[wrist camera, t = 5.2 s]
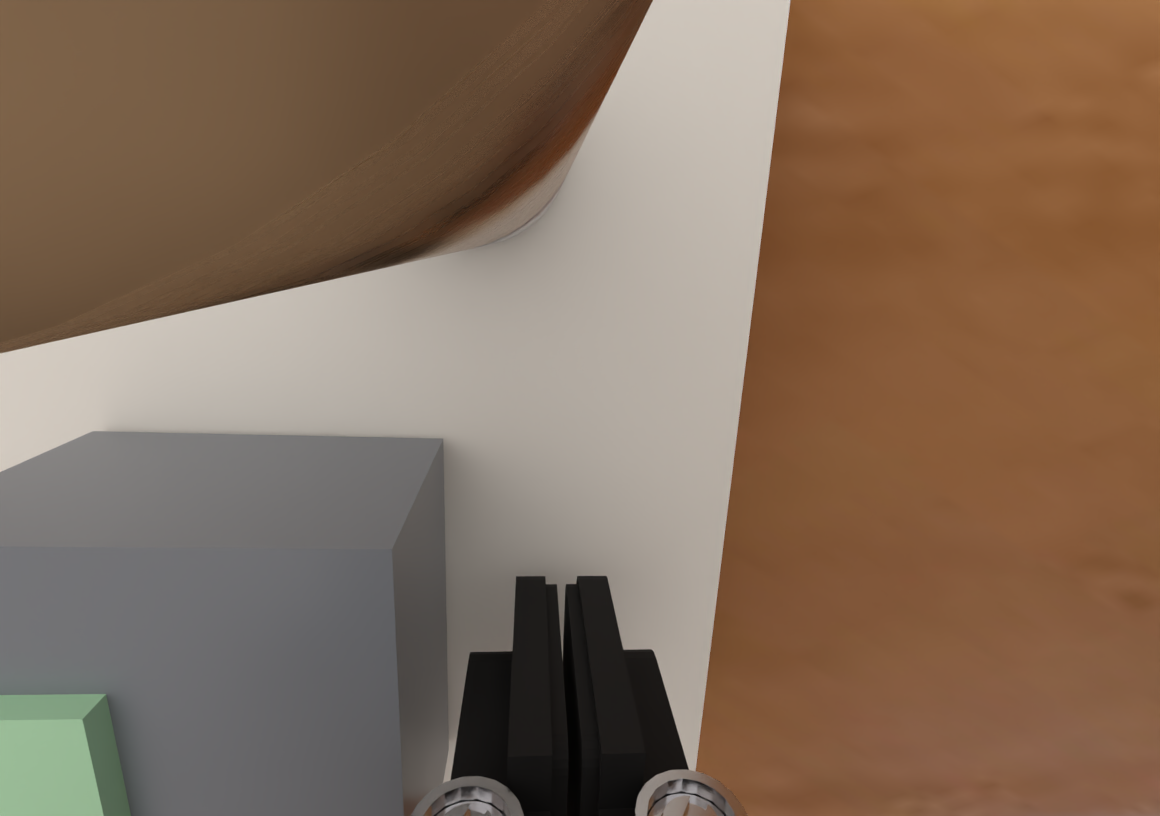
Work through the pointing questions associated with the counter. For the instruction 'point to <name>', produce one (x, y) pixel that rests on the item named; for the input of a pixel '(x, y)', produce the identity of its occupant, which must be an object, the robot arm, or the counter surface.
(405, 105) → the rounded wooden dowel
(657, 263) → the white flat rectangular board
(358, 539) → the block
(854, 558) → the counter surface
